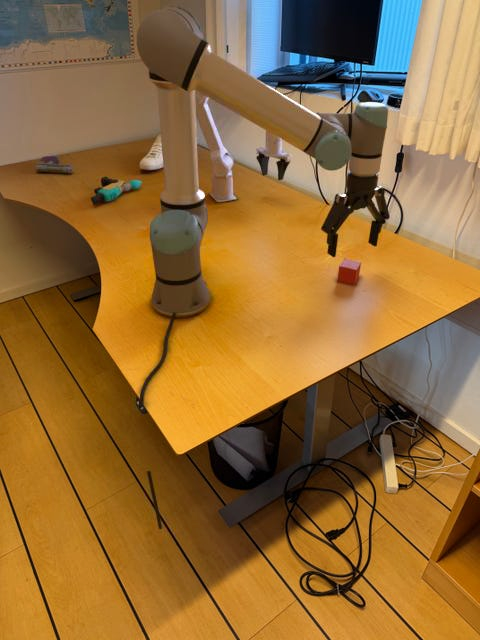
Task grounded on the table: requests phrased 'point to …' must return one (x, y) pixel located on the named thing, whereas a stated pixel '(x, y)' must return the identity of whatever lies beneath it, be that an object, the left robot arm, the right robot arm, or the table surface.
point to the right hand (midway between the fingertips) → (272, 177)
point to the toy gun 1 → (53, 165)
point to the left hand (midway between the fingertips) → (352, 249)
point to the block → (349, 271)
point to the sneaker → (153, 157)
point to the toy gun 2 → (113, 189)
